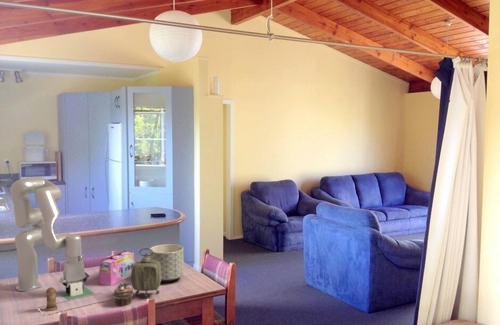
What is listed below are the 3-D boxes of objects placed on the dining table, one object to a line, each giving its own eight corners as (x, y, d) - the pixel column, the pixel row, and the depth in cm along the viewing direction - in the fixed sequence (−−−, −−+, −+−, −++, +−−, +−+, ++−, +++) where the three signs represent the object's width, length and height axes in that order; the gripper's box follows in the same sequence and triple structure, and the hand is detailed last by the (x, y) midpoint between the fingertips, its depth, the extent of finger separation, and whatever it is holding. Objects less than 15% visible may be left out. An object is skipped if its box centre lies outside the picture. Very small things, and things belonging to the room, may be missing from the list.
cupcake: (125, 298, 241) (124, 279, 240) (136, 302, 235) (136, 283, 234) (108, 303, 234) (108, 284, 233) (120, 308, 228) (120, 288, 227)
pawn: (44, 308, 226) (43, 287, 226) (55, 306, 230) (54, 285, 229) (47, 312, 222) (46, 290, 222) (58, 309, 226) (58, 287, 225)
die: (67, 293, 247) (66, 281, 247) (78, 290, 251) (78, 279, 251) (71, 296, 243) (70, 284, 242) (82, 293, 247) (82, 282, 246)
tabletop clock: (162, 292, 250) (161, 246, 248) (159, 298, 241) (158, 250, 239) (134, 292, 249) (133, 246, 247) (130, 299, 240) (129, 250, 238)
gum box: (125, 272, 284) (124, 250, 283) (136, 273, 281) (136, 251, 280) (99, 284, 262) (98, 260, 261) (110, 286, 259) (110, 262, 258)
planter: (187, 274, 279) (186, 244, 278) (179, 285, 260) (178, 253, 259) (155, 273, 281) (155, 243, 279) (145, 284, 262) (145, 252, 261)
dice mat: (58, 292, 249) (58, 292, 249) (85, 287, 257) (85, 286, 257) (67, 300, 238) (67, 300, 238) (94, 294, 247) (94, 293, 247)
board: (35, 308, 227) (35, 307, 227) (101, 293, 248) (101, 292, 248) (43, 316, 218) (43, 316, 218) (111, 300, 239) (111, 299, 239)
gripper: (87, 254, 254) (88, 287, 255) (54, 260, 243) (55, 294, 244) (92, 257, 248) (93, 290, 250) (59, 263, 237) (60, 298, 239)
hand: (74, 292), depth 247 cm, fingers closed on die, 6 cm apart
